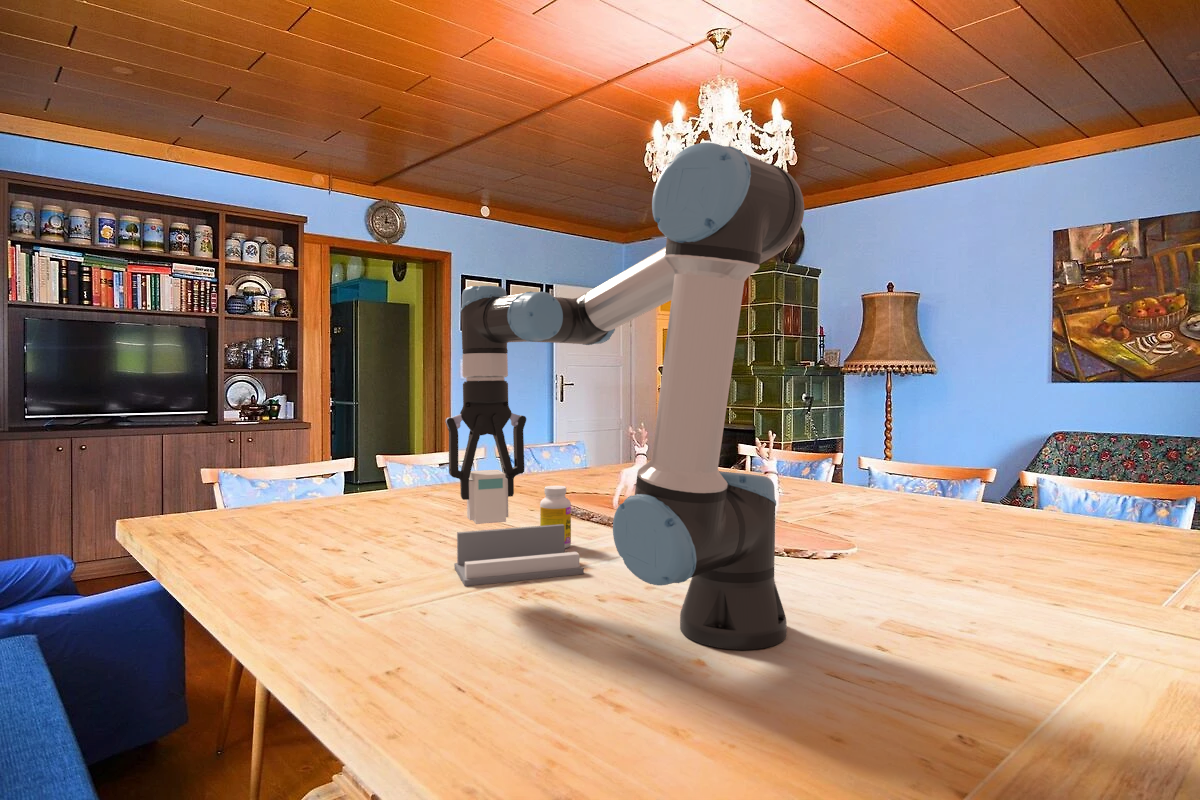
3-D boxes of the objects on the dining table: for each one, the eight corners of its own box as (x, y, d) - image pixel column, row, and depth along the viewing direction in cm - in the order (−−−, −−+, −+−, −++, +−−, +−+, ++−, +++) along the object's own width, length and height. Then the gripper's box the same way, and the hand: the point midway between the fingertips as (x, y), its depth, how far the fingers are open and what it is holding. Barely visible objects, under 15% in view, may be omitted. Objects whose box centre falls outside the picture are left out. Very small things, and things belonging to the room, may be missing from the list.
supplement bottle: (570, 550, 150) (569, 489, 150) (538, 550, 150) (538, 489, 150) (571, 542, 157) (571, 484, 156) (541, 542, 157) (541, 484, 157)
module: (506, 521, 119) (505, 474, 118) (476, 524, 117) (475, 475, 117) (498, 515, 124) (498, 469, 124) (470, 517, 123) (469, 471, 123)
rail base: (583, 573, 133) (583, 536, 132) (464, 586, 125) (464, 546, 125) (564, 558, 144) (564, 523, 144) (454, 568, 136) (454, 532, 136)
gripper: (532, 379, 127) (534, 509, 127) (428, 380, 121) (430, 517, 121) (543, 378, 120) (545, 517, 120) (433, 380, 113) (436, 525, 114)
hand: (487, 517), depth 121 cm, fingers closed on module, 5 cm apart
